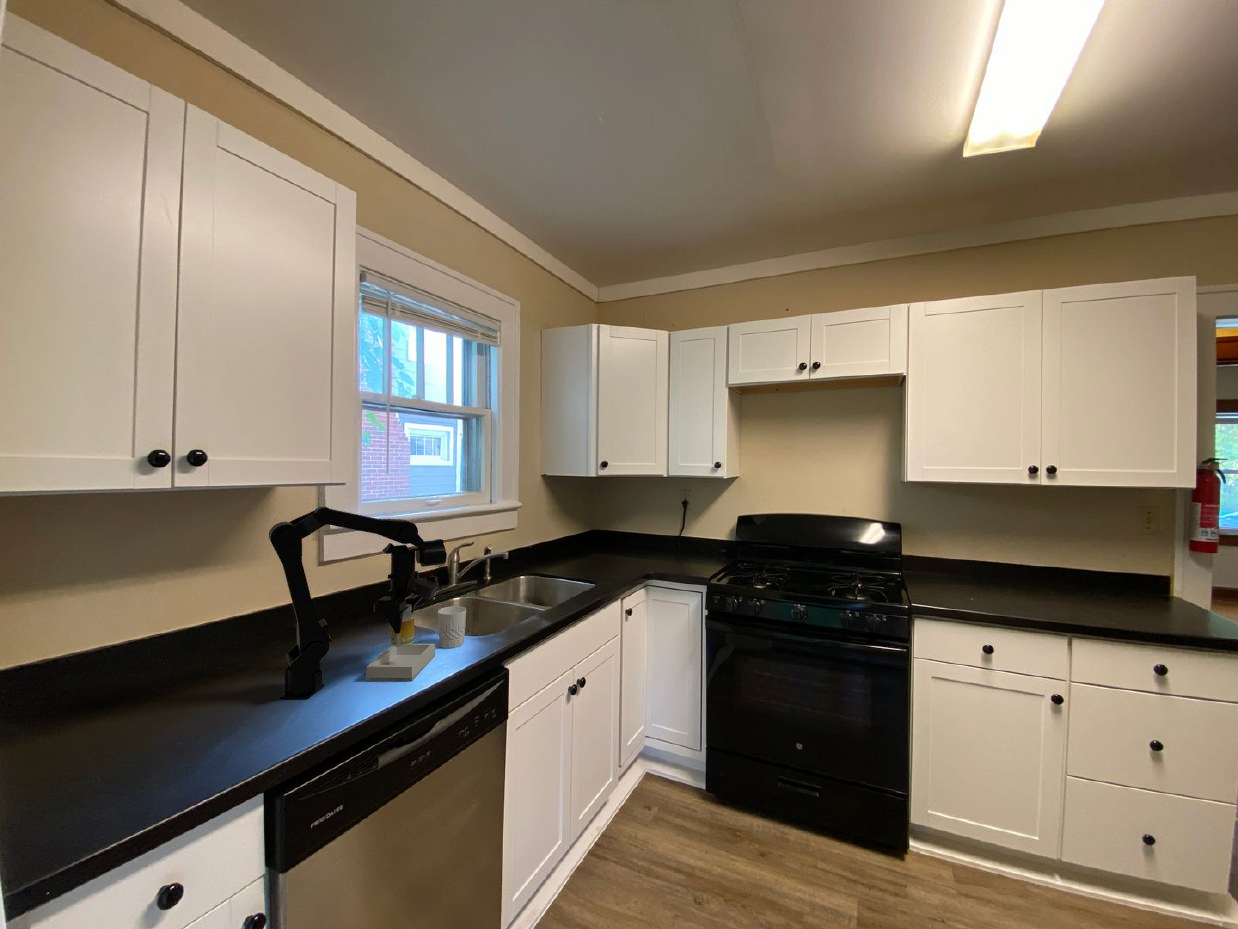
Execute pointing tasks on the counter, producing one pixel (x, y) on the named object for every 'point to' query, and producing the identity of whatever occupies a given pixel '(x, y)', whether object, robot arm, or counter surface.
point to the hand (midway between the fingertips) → (402, 629)
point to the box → (400, 663)
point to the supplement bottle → (404, 630)
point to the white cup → (451, 626)
